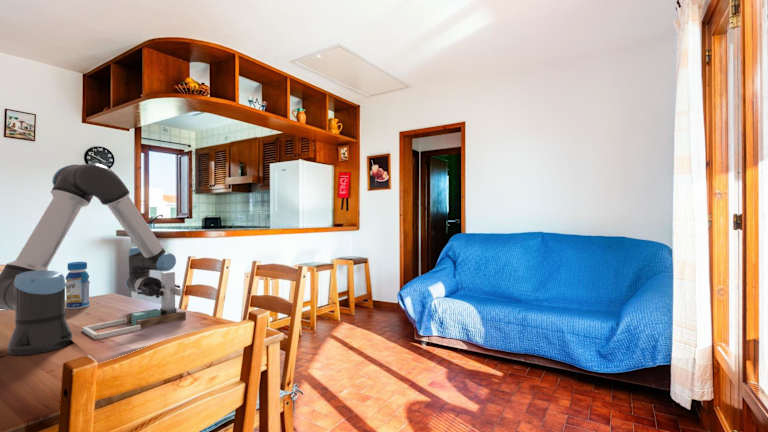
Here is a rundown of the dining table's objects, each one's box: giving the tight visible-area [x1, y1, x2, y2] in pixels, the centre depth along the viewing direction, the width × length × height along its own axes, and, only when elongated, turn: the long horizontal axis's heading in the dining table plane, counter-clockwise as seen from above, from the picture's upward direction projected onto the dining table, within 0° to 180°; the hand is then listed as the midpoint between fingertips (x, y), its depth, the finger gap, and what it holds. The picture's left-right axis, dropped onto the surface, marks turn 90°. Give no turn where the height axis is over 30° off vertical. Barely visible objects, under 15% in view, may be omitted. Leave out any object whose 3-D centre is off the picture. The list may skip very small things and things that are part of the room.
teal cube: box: [131, 310, 148, 326], centre depth 137 cm, size 4×4×4 cm
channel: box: [126, 310, 187, 329], centre depth 142 cm, size 16×11×4 cm
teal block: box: [143, 308, 161, 318], centre depth 141 cm, size 4×4×4 cm
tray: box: [81, 317, 142, 340], centre depth 130 cm, size 13×14×3 cm
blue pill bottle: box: [65, 261, 91, 310], centre depth 169 cm, size 8×8×20 cm
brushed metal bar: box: [159, 270, 177, 315], centre depth 145 cm, size 4×6×17 cm, turn 53°
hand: (174, 293), depth 142 cm, fingers closed on brushed metal bar, 3 cm apart
